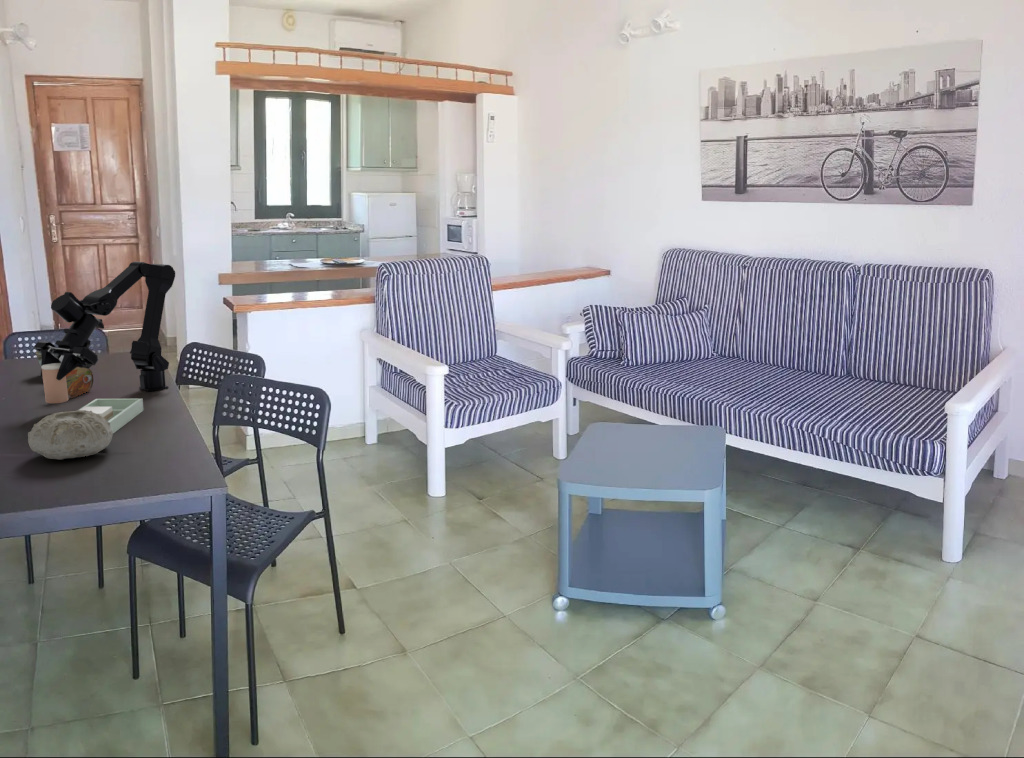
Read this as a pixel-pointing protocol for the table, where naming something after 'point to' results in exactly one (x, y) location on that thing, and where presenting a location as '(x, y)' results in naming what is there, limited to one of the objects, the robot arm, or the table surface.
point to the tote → (119, 410)
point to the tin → (79, 381)
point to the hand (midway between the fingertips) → (50, 378)
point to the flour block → (101, 411)
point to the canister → (54, 384)
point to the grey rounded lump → (70, 435)
